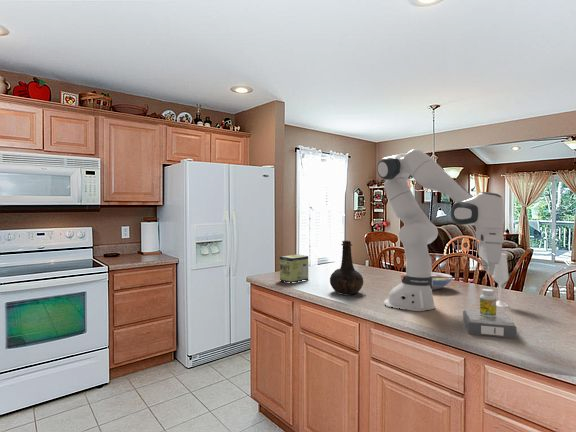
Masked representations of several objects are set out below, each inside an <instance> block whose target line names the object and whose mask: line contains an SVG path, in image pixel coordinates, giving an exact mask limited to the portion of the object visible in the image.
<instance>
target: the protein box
mask: <svg viewBox="0 0 576 432" xmlns="http://www.w3.org/2000/svg"><path fill="white" fill-rule="evenodd" d="M280 280H281V281H285V282H290V283H292V282H298V281H302V280H308V281H309V256H308V255H303V254H291V255H285V256H284V255H282V256H279V281H280Z"/></svg>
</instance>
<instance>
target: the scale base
mask: <svg viewBox="0 0 576 432" xmlns="http://www.w3.org/2000/svg"><path fill="white" fill-rule="evenodd" d="M462 322H463V324H464V326H465V329H466V331H467V333H468V335H479V336H486V337H487V336H489V337H498V338H499V337H500V338H507V339H508V338H509V339H517V326H516V325H515V324H514V326H504V325H493V324H483V323H472V322H470V321H469V319H468V317H467V315H466V313H465V310H463V311H462Z"/></svg>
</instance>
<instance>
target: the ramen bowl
mask: <svg viewBox="0 0 576 432" xmlns="http://www.w3.org/2000/svg"><path fill="white" fill-rule="evenodd" d="M431 275H432V278H433V287H432V291H435V290H439V289H442V288H445V287H446V286H448V285H449V284H450V283H451V281H452V280H453V279H455V278H456V279H458V276H452V275H451V274H448V273H442V272H435V271H432V274H431Z"/></svg>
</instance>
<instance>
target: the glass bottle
mask: <svg viewBox="0 0 576 432" xmlns="http://www.w3.org/2000/svg"><path fill="white" fill-rule="evenodd" d="M341 246H342V250H341V251H342V256H341V263H340V267H339V268H337V269H335V270H334V271H333V272H332V273H331V275H330V277H329V283H330V286H331V288H332V289H333V290H334V291H335V293H337V294H339V293H340V294H339V295H344V294H350V295H356V294H357V293H359V291H361V290H362V288H363V286H364V277H363V275H362V273H361V272H359V271H357V270H356V269H355V267H354V264H353V257H352V246H353V244H352V242H351V240H342V243H341Z"/></svg>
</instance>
